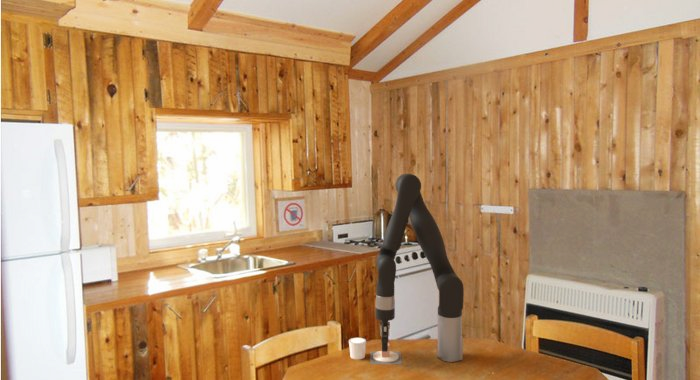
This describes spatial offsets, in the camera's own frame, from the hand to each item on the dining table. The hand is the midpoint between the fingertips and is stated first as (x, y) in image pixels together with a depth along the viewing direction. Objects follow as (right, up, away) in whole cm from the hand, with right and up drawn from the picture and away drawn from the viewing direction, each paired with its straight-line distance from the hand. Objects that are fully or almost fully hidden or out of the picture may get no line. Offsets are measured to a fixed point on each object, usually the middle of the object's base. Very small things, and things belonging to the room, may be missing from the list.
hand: (384, 346), depth 197 cm
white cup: (-10, -5, +2) cm, 12 cm away
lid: (+1, -4, 0) cm, 4 cm away
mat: (+1, -5, 0) cm, 5 cm away
